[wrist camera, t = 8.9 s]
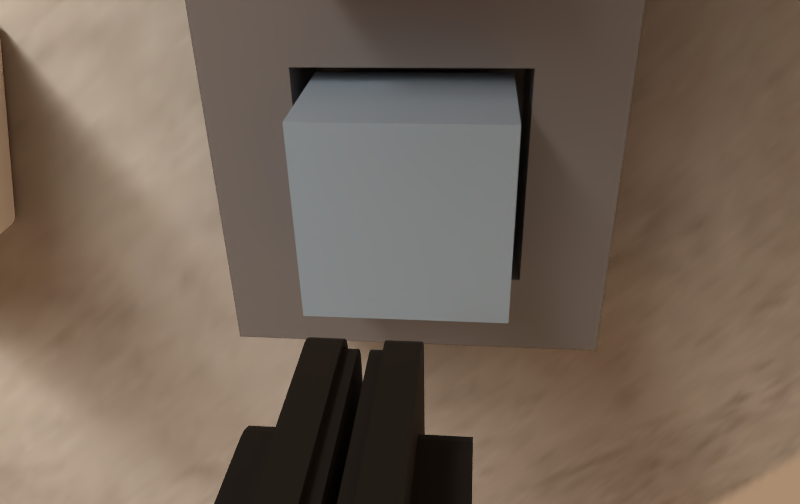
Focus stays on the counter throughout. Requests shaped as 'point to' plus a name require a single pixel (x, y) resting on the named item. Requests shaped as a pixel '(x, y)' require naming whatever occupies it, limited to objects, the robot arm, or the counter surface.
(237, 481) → the robot arm
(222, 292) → the counter surface
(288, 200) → the key panel
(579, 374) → the counter surface
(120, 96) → the counter surface
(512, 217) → the slate-blue key
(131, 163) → the counter surface
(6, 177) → the medicine bottle
